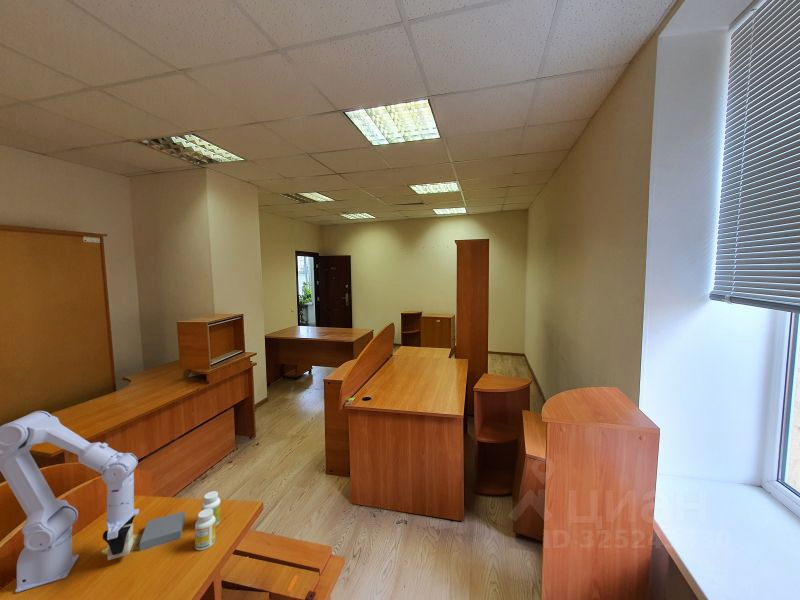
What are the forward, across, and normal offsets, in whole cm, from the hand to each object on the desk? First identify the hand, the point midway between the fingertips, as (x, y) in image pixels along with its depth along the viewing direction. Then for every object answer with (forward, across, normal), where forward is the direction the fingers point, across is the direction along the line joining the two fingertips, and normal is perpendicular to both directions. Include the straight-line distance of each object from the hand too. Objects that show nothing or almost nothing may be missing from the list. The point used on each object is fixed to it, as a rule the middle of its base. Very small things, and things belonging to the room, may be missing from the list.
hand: (120, 546), depth 89 cm
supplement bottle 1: (+4, +4, -22) cm, 23 cm away
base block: (+4, +6, -9) cm, 12 cm away
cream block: (+1, 0, 0) cm, 1 cm away
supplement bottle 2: (+4, -5, -21) cm, 22 cm away
